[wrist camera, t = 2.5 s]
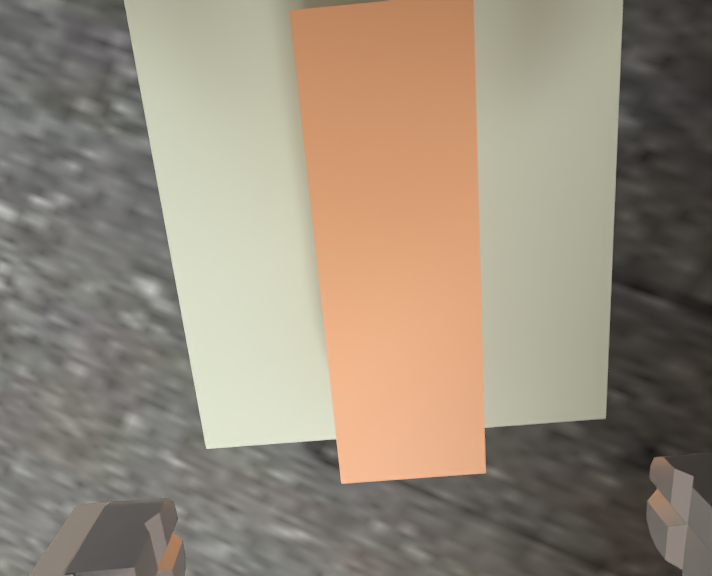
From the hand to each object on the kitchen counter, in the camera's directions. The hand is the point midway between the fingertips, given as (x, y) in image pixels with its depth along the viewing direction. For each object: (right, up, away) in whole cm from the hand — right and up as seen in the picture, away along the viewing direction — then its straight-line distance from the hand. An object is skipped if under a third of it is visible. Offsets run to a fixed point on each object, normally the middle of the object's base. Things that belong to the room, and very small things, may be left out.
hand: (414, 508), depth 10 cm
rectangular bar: (0, +5, +8) cm, 10 cm away
